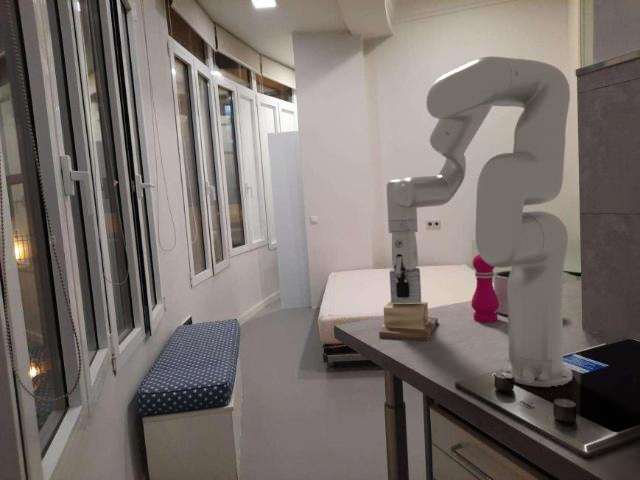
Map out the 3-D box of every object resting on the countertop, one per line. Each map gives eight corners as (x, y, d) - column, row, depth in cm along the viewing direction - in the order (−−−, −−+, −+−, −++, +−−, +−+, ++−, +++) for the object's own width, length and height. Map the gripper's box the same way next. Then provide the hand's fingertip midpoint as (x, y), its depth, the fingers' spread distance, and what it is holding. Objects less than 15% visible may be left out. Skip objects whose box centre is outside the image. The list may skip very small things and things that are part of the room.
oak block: (422, 328, 121) (421, 309, 121) (384, 325, 125) (383, 307, 125) (428, 319, 129) (427, 301, 128) (392, 318, 133) (391, 300, 132)
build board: (426, 340, 116) (426, 334, 116) (377, 337, 121) (377, 331, 121) (437, 323, 131) (437, 317, 130) (393, 320, 136) (393, 315, 135)
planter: (488, 307, 144) (487, 271, 143) (530, 306, 143) (530, 269, 142) (502, 318, 131) (501, 279, 130) (549, 316, 131) (548, 276, 130)
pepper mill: (492, 324, 126) (491, 250, 124) (467, 320, 131) (465, 249, 129) (503, 318, 132) (502, 246, 130) (478, 315, 136) (476, 246, 134)
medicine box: (421, 299, 128) (419, 267, 127) (421, 303, 123) (420, 270, 122) (391, 299, 129) (390, 268, 128) (390, 303, 125) (389, 271, 124)
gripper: (409, 229, 115) (412, 302, 117) (423, 223, 131) (426, 288, 132) (379, 230, 118) (383, 301, 120) (396, 224, 134) (399, 288, 135)
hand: (405, 294), depth 126 cm, fingers closed on medicine box, 5 cm apart
